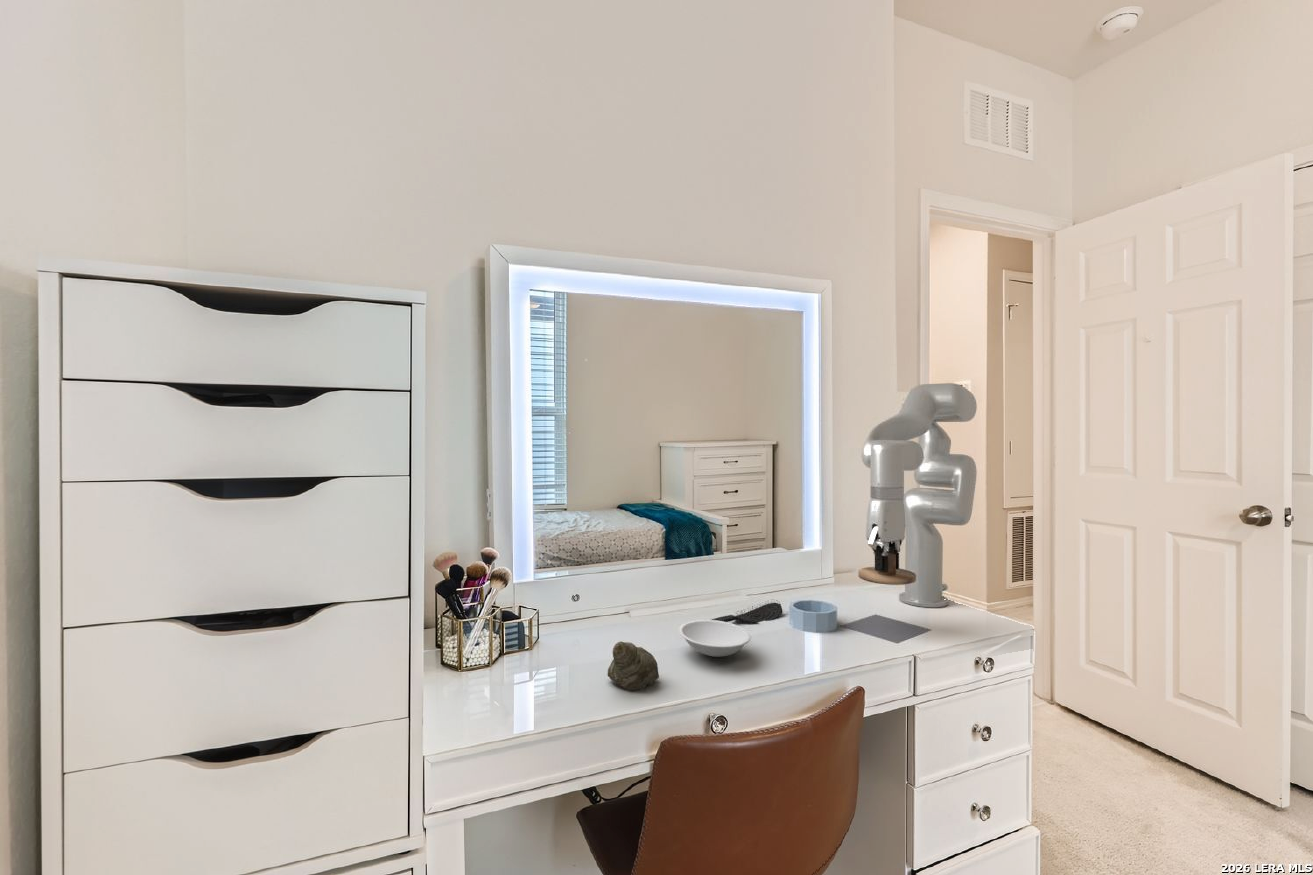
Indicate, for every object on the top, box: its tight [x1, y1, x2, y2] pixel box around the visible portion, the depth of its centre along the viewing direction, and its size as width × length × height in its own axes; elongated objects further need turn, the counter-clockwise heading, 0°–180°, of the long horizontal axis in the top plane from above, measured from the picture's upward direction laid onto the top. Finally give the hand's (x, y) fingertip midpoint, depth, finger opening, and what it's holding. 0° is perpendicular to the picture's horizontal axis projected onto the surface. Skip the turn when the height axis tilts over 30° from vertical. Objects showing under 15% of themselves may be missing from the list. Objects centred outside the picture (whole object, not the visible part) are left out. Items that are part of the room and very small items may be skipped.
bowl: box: [788, 599, 838, 634], centre depth 151 cm, size 11×11×5 cm
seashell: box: [606, 640, 660, 691], centre depth 119 cm, size 11×12×10 cm
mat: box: [840, 614, 932, 644], centre depth 149 cm, size 15×15×1 cm
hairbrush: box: [710, 599, 783, 625], centre depth 155 cm, size 8×4×25 cm
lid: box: [857, 553, 916, 586], centre depth 149 cm, size 13×13×6 cm
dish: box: [678, 619, 752, 658], centre depth 132 cm, size 18×14×5 cm
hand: (886, 569), depth 149 cm, fingers closed on lid, 4 cm apart
